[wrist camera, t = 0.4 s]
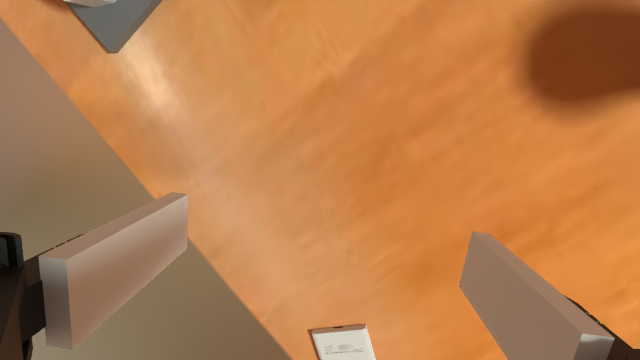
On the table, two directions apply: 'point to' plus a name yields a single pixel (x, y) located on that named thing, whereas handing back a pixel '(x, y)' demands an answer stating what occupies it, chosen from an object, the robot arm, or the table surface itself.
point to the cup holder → (113, 18)
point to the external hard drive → (344, 343)
